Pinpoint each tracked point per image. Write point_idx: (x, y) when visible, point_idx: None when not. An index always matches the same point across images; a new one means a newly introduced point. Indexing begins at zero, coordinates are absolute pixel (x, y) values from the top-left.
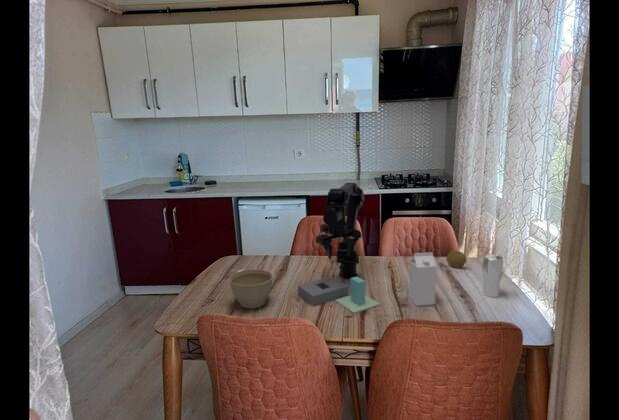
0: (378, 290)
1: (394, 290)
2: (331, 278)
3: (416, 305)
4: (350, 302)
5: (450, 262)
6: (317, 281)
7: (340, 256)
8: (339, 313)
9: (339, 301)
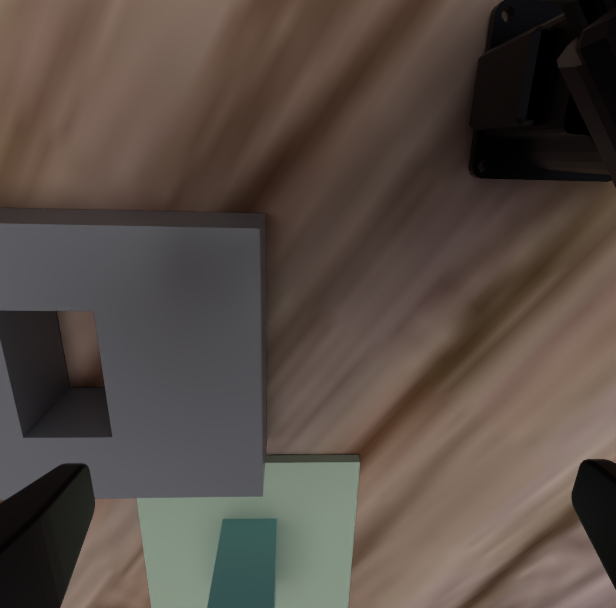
0: (491, 476)
1: (565, 523)
2: (225, 275)
3: None
4: (206, 535)
5: None
6: (44, 256)
7: (594, 107)
8: (85, 576)
9: None
